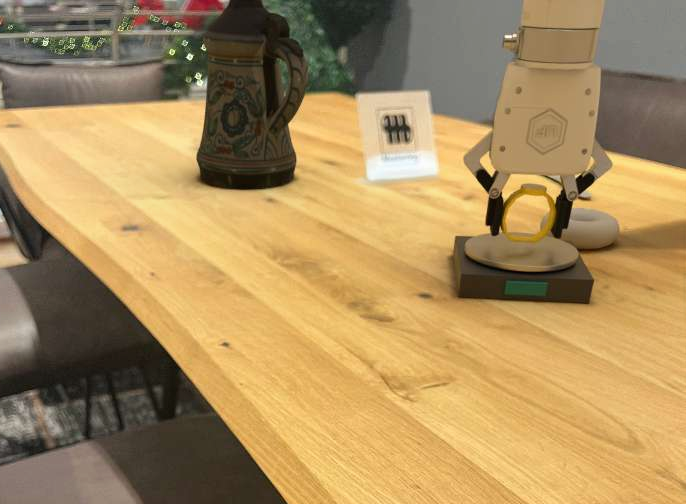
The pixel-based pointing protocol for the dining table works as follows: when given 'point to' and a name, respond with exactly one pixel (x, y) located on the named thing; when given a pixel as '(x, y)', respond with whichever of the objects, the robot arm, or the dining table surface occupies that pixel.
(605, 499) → the dining table surface
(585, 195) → the butter knife
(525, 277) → the scale
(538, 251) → the scale pan
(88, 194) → the dining table surface
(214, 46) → the beer stein
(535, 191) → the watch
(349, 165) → the dining table surface
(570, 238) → the donut
